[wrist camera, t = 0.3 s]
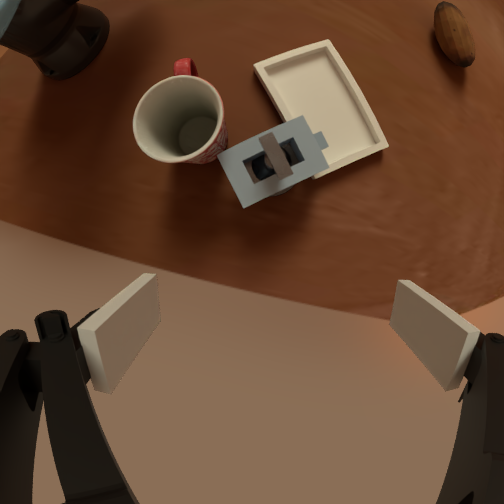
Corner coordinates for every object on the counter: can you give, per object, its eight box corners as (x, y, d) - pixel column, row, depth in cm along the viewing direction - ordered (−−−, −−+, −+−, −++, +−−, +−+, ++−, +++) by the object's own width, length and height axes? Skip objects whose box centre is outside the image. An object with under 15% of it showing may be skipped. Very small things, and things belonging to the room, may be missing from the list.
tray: (253, 70, 34) (253, 64, 32) (325, 45, 33) (328, 39, 31) (312, 179, 38) (315, 178, 36) (382, 148, 36) (388, 146, 34)
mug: (235, 170, 38) (223, 160, 25) (170, 172, 38) (130, 166, 25) (235, 85, 35) (225, 40, 22) (173, 89, 35) (139, 52, 22)
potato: (449, 70, 35) (439, 66, 31) (431, 10, 29) (418, -1, 26) (483, 71, 29) (478, 66, 25) (464, 8, 23) (455, -5, 20)
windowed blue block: (245, 206, 34) (243, 208, 30) (221, 158, 33) (216, 155, 29) (333, 164, 32) (342, 162, 29) (309, 118, 31) (315, 109, 27)
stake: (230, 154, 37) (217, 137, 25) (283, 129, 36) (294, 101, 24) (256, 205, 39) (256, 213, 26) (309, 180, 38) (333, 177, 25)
